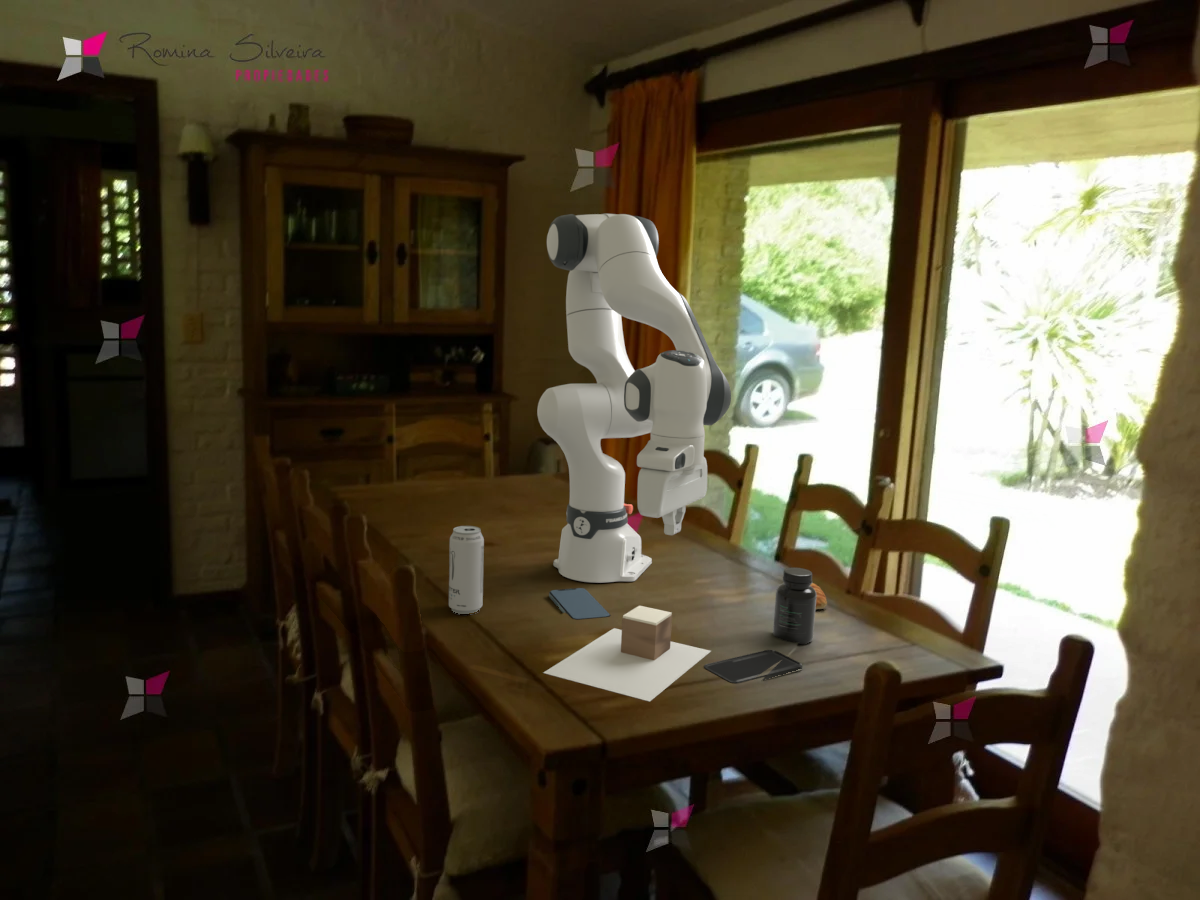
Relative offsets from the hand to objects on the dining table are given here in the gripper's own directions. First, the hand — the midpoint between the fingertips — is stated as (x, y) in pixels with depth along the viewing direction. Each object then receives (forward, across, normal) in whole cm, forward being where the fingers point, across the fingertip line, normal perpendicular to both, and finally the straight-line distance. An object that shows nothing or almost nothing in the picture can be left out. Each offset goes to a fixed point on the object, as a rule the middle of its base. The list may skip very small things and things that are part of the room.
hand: (672, 533), depth 163 cm
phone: (+19, +4, +17) cm, 26 cm away
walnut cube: (+18, +8, 0) cm, 20 cm away
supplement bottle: (+19, -13, +18) cm, 29 cm away
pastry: (+19, -34, +14) cm, 41 cm away
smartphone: (+19, -5, -20) cm, 28 cm away
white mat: (+19, +13, 0) cm, 23 cm away
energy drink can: (+19, +8, -36) cm, 41 cm away
